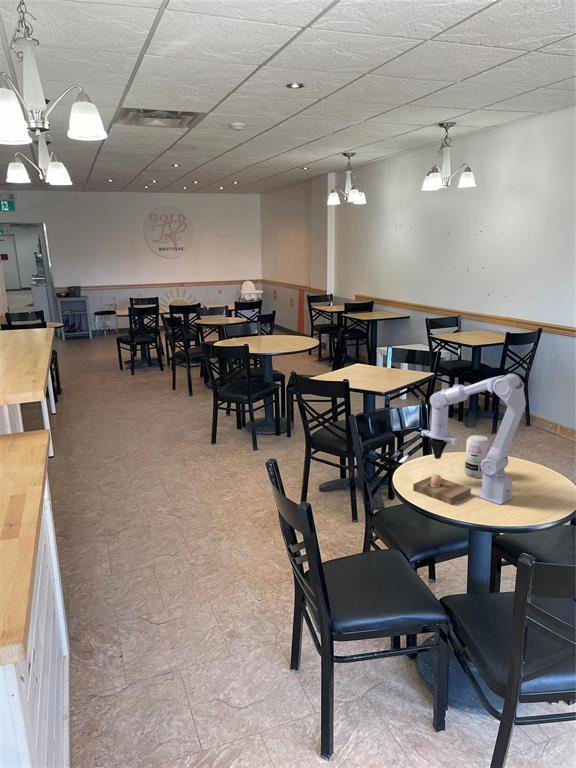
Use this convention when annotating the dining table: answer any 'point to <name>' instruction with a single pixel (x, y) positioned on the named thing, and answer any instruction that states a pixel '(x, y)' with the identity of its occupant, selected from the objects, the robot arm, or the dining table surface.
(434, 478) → the peg
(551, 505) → the dining table surface
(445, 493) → the board
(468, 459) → the supplement can
